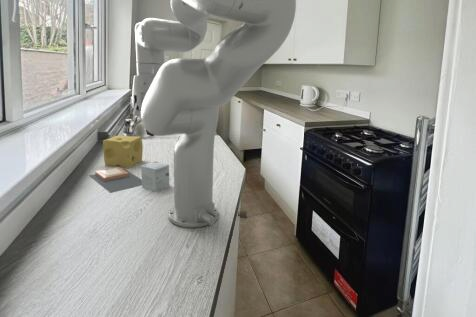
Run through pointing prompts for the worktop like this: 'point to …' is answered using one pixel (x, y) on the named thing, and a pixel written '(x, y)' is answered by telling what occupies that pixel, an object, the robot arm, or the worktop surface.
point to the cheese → (122, 151)
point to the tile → (111, 173)
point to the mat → (119, 182)
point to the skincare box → (155, 175)
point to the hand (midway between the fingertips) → (153, 134)
